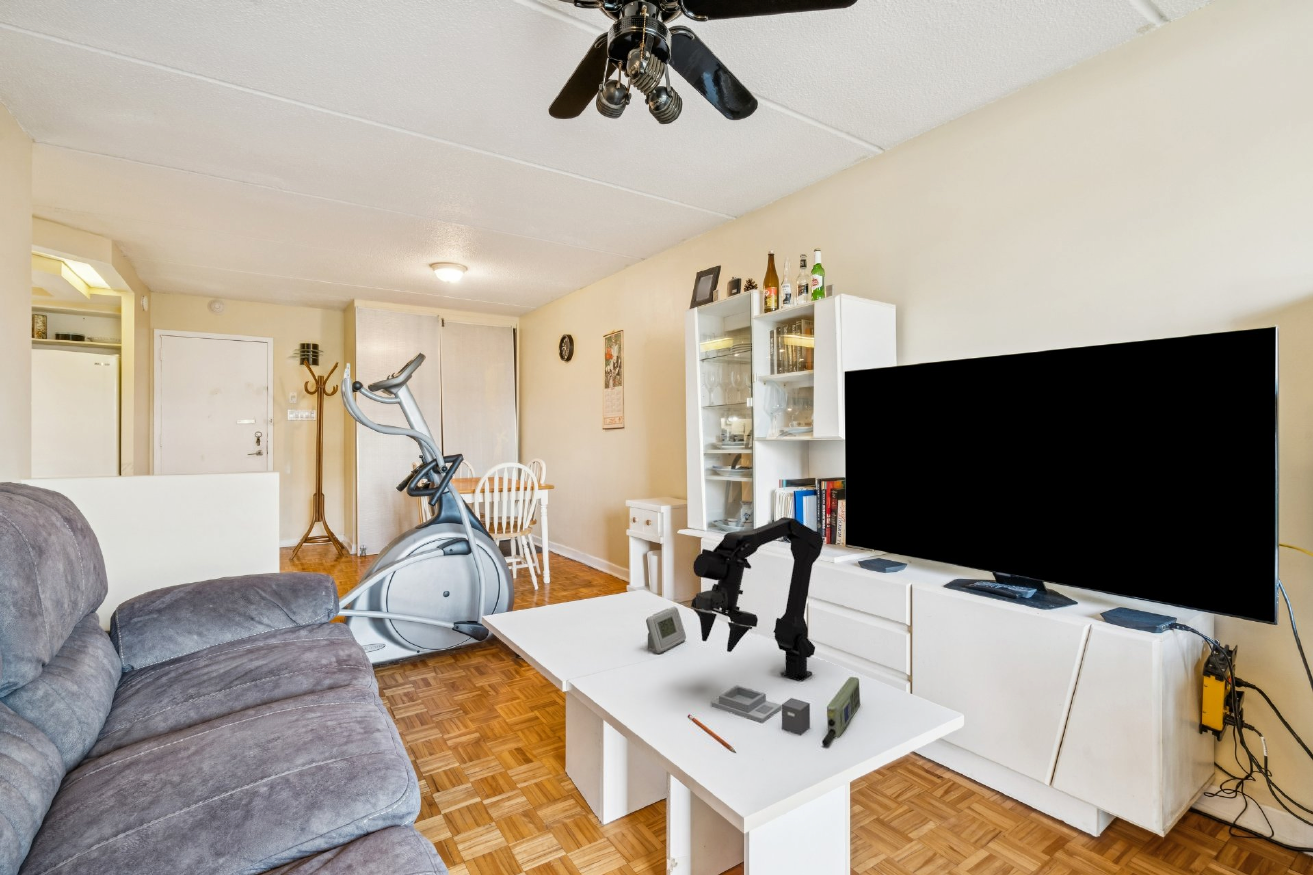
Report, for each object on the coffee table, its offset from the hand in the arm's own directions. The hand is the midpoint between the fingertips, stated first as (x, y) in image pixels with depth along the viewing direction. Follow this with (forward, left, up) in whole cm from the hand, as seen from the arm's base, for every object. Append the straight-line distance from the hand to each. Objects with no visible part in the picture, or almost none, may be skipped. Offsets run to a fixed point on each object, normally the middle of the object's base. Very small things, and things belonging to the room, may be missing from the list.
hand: (716, 646), depth 149 cm
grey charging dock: (-1, +8, -13) cm, 15 cm away
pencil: (+15, +9, -14) cm, 22 cm away
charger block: (+1, +22, -13) cm, 26 cm away
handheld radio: (-7, +29, -14) cm, 33 cm away
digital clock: (-23, -34, -13) cm, 43 cm away
